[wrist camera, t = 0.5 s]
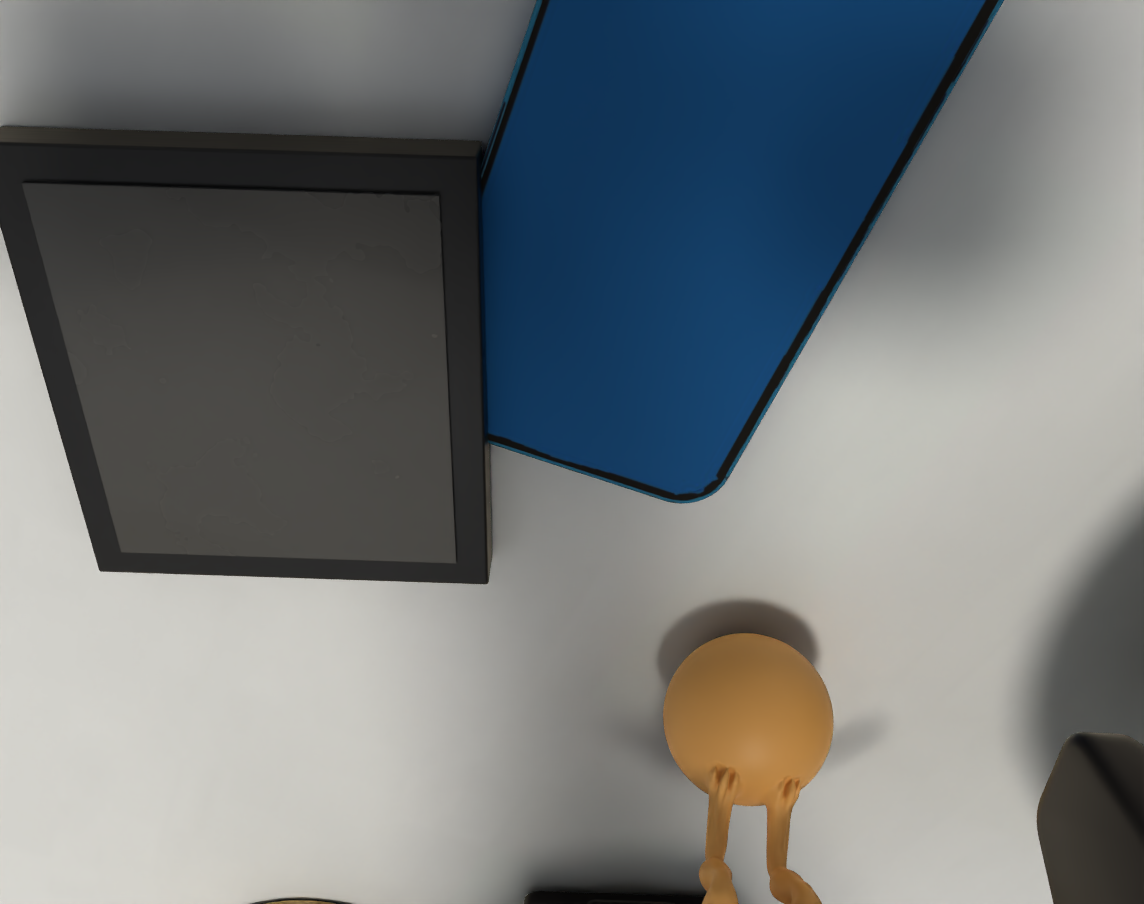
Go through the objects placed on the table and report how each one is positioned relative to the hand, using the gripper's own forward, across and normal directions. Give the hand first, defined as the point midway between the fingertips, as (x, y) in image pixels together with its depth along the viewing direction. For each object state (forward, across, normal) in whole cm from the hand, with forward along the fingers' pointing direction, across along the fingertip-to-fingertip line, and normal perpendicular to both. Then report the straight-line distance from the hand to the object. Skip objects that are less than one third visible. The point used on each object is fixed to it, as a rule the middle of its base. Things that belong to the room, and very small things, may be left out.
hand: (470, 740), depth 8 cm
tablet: (+14, +6, +5) cm, 16 cm away
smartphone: (+15, -3, 0) cm, 15 cm away
